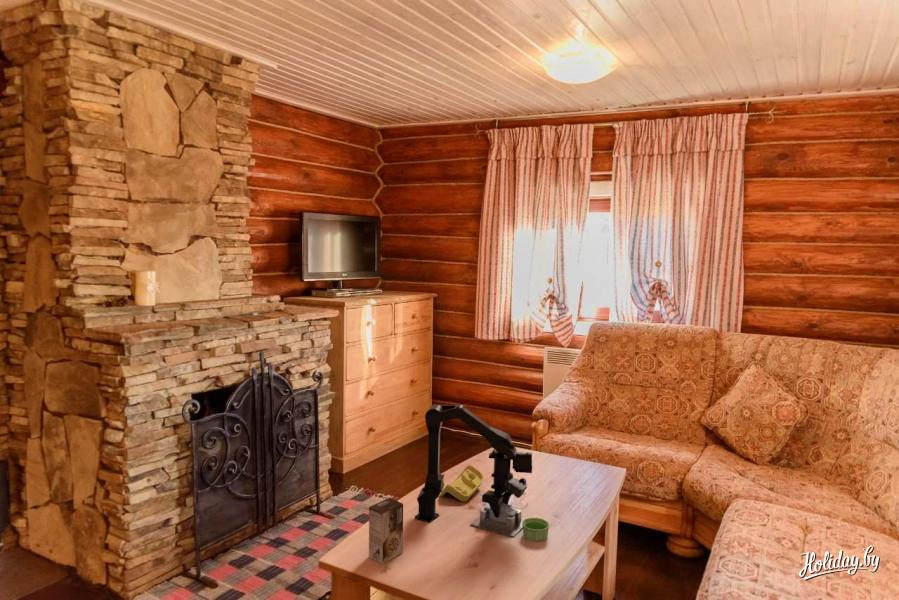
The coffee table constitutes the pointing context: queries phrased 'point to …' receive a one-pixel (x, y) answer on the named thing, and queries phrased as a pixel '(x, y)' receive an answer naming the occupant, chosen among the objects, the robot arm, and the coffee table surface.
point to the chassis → (508, 529)
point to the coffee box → (385, 530)
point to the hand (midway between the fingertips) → (500, 514)
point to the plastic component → (465, 484)
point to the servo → (502, 512)
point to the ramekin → (535, 529)
